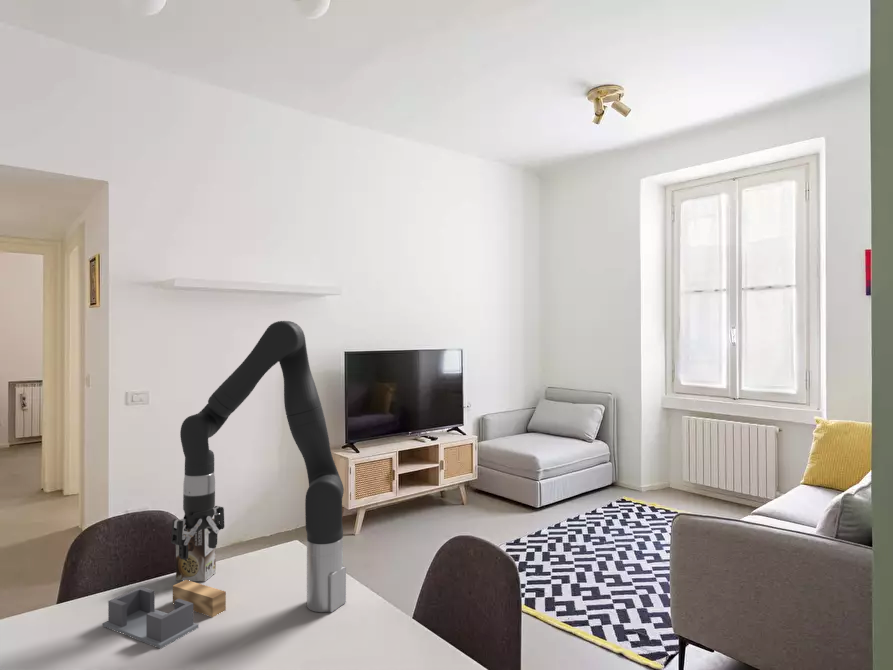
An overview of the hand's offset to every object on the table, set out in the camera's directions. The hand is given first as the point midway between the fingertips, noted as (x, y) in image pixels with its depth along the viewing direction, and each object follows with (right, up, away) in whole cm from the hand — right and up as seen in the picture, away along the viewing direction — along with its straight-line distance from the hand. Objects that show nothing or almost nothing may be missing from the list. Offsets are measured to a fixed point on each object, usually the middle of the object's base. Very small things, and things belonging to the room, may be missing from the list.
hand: (198, 553), depth 142 cm
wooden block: (0, -14, 0) cm, 14 cm away
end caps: (-7, -14, -10) cm, 18 cm away
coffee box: (-9, -14, +18) cm, 24 cm away
